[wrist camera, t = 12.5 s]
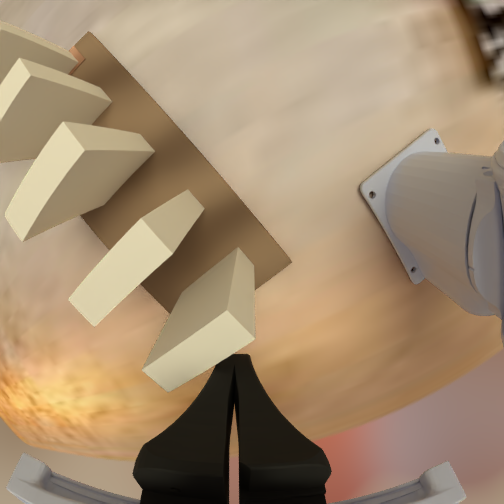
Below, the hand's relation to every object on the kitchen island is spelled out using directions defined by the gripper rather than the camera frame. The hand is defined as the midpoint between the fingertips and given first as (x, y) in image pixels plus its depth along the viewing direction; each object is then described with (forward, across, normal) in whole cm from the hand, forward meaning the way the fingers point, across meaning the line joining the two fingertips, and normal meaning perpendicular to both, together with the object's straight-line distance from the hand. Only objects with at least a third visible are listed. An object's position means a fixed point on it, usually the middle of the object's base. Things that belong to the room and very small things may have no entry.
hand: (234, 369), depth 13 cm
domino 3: (+7, +8, -9) cm, 14 cm away
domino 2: (+7, +11, -12) cm, 18 cm away
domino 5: (+7, +1, -2) cm, 7 cm away
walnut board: (+8, +7, -8) cm, 13 cm away
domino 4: (+7, +4, -5) cm, 10 cm away
